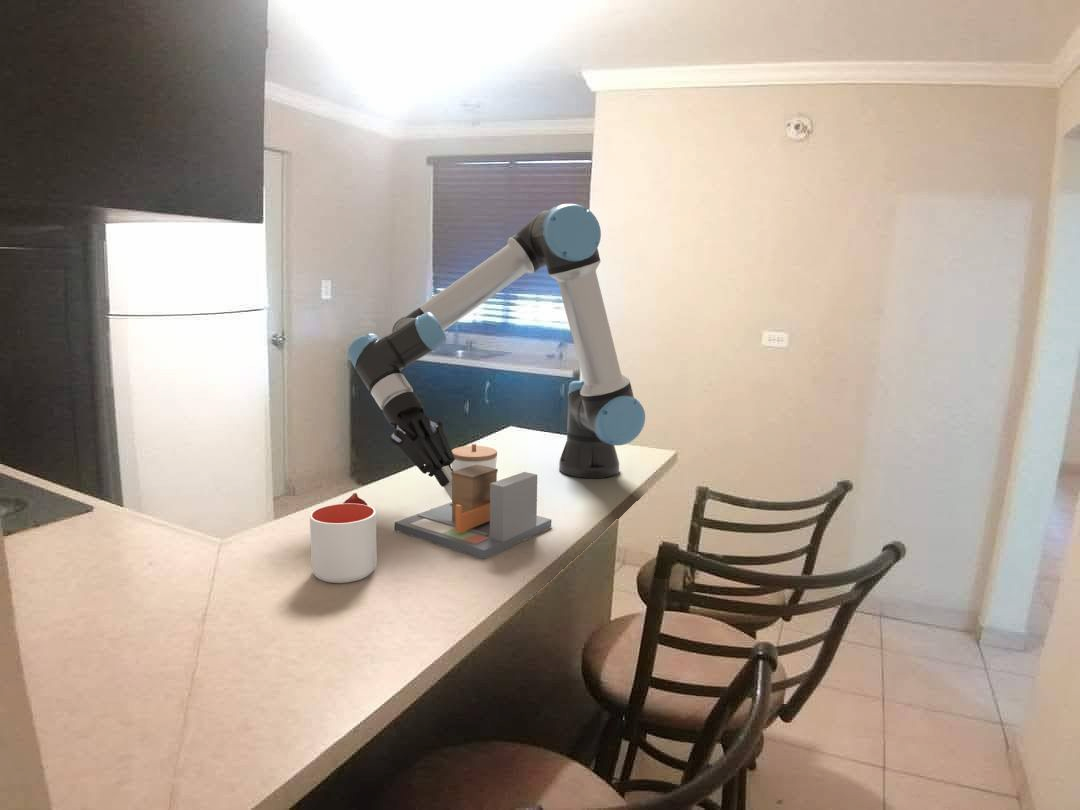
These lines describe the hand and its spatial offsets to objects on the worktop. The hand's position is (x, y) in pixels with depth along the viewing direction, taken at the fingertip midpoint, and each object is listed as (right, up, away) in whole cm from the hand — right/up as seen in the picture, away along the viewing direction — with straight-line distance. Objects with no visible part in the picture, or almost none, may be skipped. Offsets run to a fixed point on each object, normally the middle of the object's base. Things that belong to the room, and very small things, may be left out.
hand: (459, 497), depth 132 cm
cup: (-16, -9, -22) cm, 29 cm away
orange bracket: (+4, -4, -5) cm, 8 cm away
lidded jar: (0, -1, +29) cm, 29 cm away
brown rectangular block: (+3, -4, -1) cm, 5 cm away
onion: (-19, -6, -5) cm, 20 cm away
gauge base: (+3, -6, -1) cm, 7 cm away
